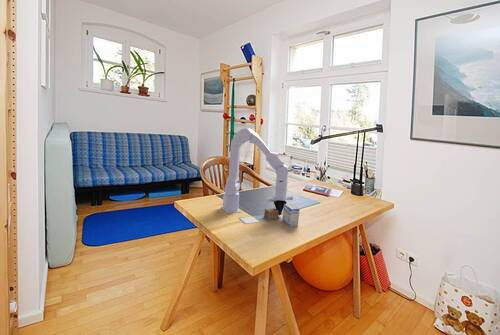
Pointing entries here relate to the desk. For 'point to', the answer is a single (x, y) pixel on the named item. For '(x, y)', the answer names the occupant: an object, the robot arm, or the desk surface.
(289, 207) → the medicine box
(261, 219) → the board
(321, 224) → the desk surface
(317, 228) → the desk surface
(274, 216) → the walnut block
